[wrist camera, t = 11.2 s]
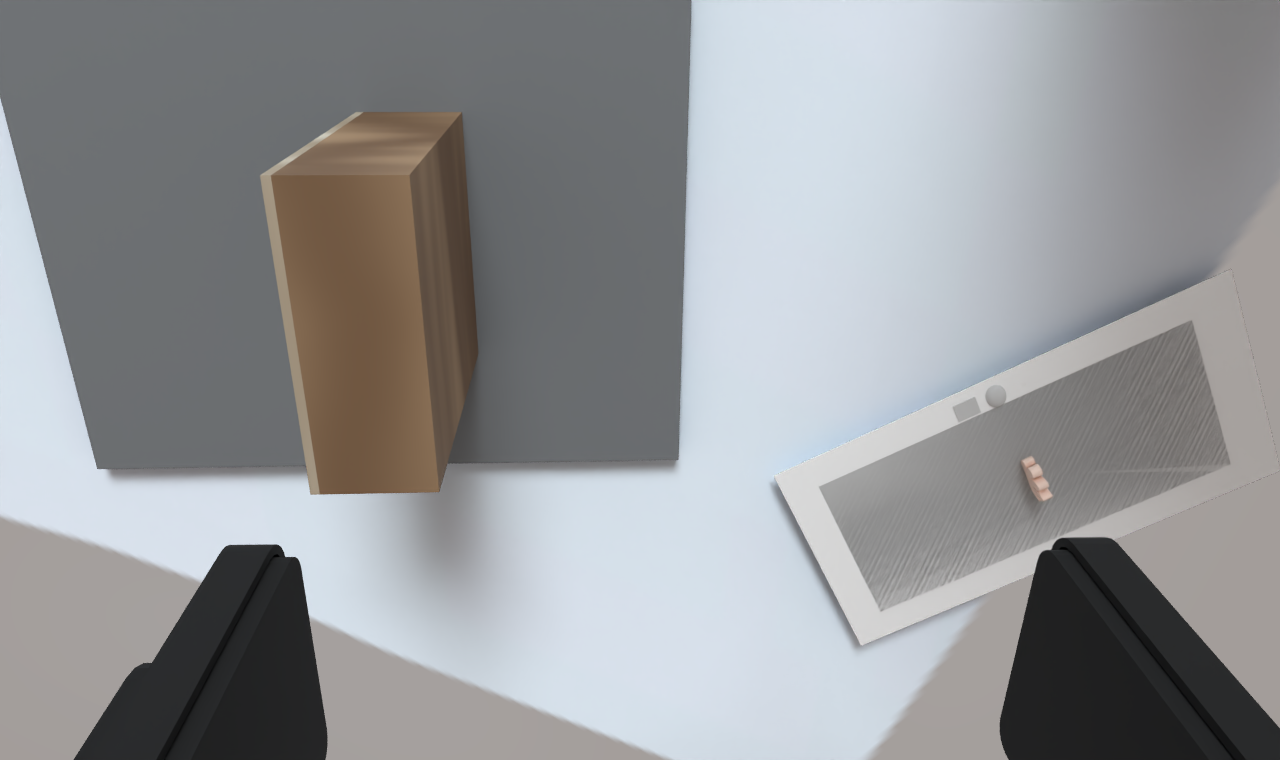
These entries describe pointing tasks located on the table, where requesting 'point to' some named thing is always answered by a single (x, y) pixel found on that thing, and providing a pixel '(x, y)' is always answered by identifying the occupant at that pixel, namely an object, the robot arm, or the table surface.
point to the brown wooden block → (376, 297)
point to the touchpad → (1038, 461)
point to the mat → (293, 117)
